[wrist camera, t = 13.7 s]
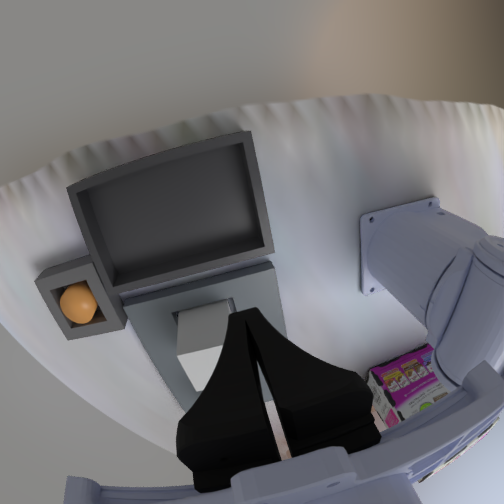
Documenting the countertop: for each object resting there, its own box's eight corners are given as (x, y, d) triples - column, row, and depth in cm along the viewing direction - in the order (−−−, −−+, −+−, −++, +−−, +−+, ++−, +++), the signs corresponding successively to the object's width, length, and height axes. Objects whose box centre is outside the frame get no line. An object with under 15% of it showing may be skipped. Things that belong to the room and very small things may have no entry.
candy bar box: (362, 391, 33) (416, 485, 18) (367, 368, 31) (433, 470, 16) (425, 363, 34) (484, 438, 20) (433, 339, 32) (502, 417, 18)
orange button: (90, 274, 20) (82, 287, 18) (105, 305, 21) (99, 319, 19) (62, 283, 20) (53, 295, 18) (78, 312, 21) (71, 326, 19)
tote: (244, 131, 18) (250, 130, 16) (266, 239, 22) (274, 252, 20) (80, 180, 17) (66, 187, 15) (116, 279, 21) (109, 295, 19)
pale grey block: (225, 293, 23) (235, 341, 18) (237, 329, 25) (248, 379, 19) (179, 305, 23) (176, 355, 17) (194, 340, 25) (196, 391, 19)
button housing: (100, 251, 20) (92, 262, 18) (128, 314, 22) (124, 329, 20) (44, 269, 19) (34, 281, 17) (74, 326, 22) (67, 340, 20)
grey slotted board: (270, 261, 23) (274, 268, 22) (293, 385, 29) (296, 392, 28) (125, 299, 22) (122, 307, 21) (189, 410, 28) (189, 418, 27)
